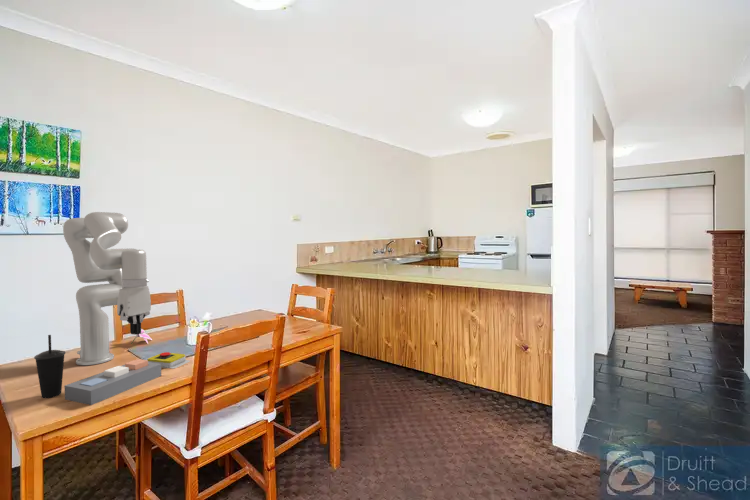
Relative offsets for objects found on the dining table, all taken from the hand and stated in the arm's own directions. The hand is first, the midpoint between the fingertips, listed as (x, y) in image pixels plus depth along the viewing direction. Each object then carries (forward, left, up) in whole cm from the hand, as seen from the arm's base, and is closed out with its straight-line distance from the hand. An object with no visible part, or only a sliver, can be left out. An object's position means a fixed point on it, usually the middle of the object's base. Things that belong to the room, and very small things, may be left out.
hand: (135, 333), depth 133 cm
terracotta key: (0, 0, -13) cm, 14 cm away
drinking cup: (-14, -19, -17) cm, 29 cm away
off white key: (0, -7, -14) cm, 15 cm away
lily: (-39, +33, -17) cm, 54 cm away
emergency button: (-4, +16, -18) cm, 24 cm away
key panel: (0, -7, -17) cm, 18 cm away
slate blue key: (0, -15, -15) cm, 21 cm away
